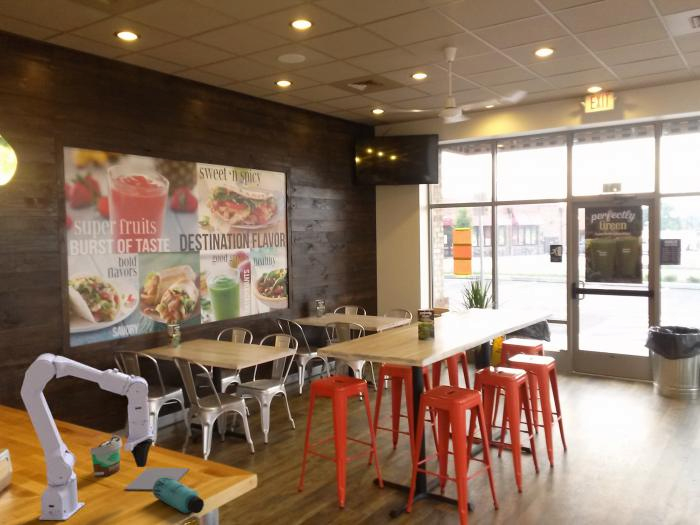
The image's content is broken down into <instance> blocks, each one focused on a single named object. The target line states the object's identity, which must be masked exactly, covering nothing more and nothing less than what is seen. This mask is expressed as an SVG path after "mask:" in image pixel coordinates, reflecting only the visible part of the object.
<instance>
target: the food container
mask: <svg viewBox="0 0 700 525" xmlns="http://www.w3.org/2000/svg"><path fill="white" fill-rule="evenodd" d="M111 436H112V437H111V438H109V440H107V441H106V440H105V441H104V442H102V443H100V444H99V445H98V446H96V447H93V446H92V447H90V451H89V452H90V453H89V455H91V460H92V467H93V475H94V476H93V477H94V478H104V477H109V476H113V475H115V474H117V473H118V472H119V471H120V468H121V467H120V466H121V464H120V463H121V448H122V447H123V442H122V441H123V440H122V439H121V437H120V436H119V435H115V434H114V435H113V434H112V435H111ZM116 472H117V473H116Z"/></svg>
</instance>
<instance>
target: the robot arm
mask: <svg viewBox="0 0 700 525" xmlns="http://www.w3.org/2000/svg"><path fill="white" fill-rule="evenodd" d="M24 375H25V376H24V379H23V382H22V386H21V389H20V396H21V399H22V402H23V404H24V406H25V409H26V411H27V413H28V417H29V419H30V421H31V423H32V426H33V428H34V430H35V433H36V436H37V438H38V440H39V443H40V445H41V448H42V450H43V453H44V461H45V462H44V463H45V465H46V474H45V475H46V478H47V484H46V488H45V489H44V491H43V492H42V494H41V495H40V507H41V508H40V509H41V515H40V516H39V517H38V519H39V520H41V521H43V520H45V521H48V520H49V521H66V520H68V519H69V518H71V517H72V516H73V515H74V514H75V513H76V512H78V511H79V510H80V509H81V508H82V507H83V506H85V502H78V501H79V500H78V485H77V483H78V482H77V474H76V473H75V472H74V467H75V465H76V456H75V455H74V453H72V452H71V451H70V450H69V449H68V446H67V445H66V444H65V443H64V441H63V440H62V437H61V435H60V432H59V430H58V428H57V425H56V422H55V420H54V417H53V415H52V412H51V410H50V408H49V405H48V403H47V401H46V400H47V399H46V398H45V396H44V393H43V390H44V389H45V387H46V386H47V383H48V382H49V381H51V380H52V379H53V377H54V376H55V375H56V379H59V378H61V377H66V376H71V377H72V376H73V377H75V378H76V377H77V378H80V379H83V380H88V381H91V382H94V383H98V385H99V387H100V389H102V390H105V391H109V392H111V393H115V394H116V395H117V394H118V395H120V396H126V397H127V400H128V404H127V414H128V415H127V416H128V420H127V421H128V434H129V435H128V436H127V441H126V442H125V443H124V451H125V452H127V451H129V452H130V453H131V454H132V456H133V458H134V461H135V464H136V467H138V468H144V467H145V466H146V465H147V461H148V455H149V452H150V448H151V446H152V444H153V439H154V437H155V434H154V433H155V427H154V426H151V424H150V422H151V421H150V407H149V406H150V405H149V404H150V403H149V396H148V395H149V388H148V387H149V384H148V382H147V380H146V379H145V378H144V377H141V376H139V375H137V376H136V375H134V374H126V373H123V372H120V371H119V369H117V368H113V369H111V368H110V369H109V368H108V369H106V370H103V371H102V370H99V369H97V368H94V367H91V366H89V365H86V364H83V363H82V362H78V361H76V360H72V359H70V358H68V357H65V356H61V355H55V354H53V353H50V352H49V353H47V352H45V353H43V354H40V355H39V356H37V358H36V359H35V360H34V361H33V362H32V363H31V364H30V366H29V367H28V368H27V370H26V371H25V374H24Z"/></svg>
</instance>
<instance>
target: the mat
mask: <svg viewBox="0 0 700 525" xmlns="http://www.w3.org/2000/svg"><path fill="white" fill-rule="evenodd" d="M189 471H190V468H189V467H187V468H185V467H184V468H180V467H178V468H177V467H147V468H146V469H145V470H143V471H142V473H141V472H140V474H139V475H138V476H137V477H136V478H135V479H134V480H132V482H130V483H129V484H128V485H127V486H126V487H125V488H124V491H140V490H153V486H154V483H155V482H156V481H157V480H158V479H159V478H161V477H164V476H165V477H170V478H171V479H173V480H175V481H177V482H180V480H181V479H182V478H183V477H184V476H185V475H186V474H187V473H188V472H189ZM186 472H187V473H186Z"/></svg>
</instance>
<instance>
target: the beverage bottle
mask: <svg viewBox="0 0 700 525" xmlns="http://www.w3.org/2000/svg"><path fill="white" fill-rule="evenodd" d="M152 493H153V496H154V498H156V499H157V500H159V501H161V502H162V503H164V504H167V505H168V506H170V507H172V508H174V509H176V510H178V511H180V512H181V513H184V514H188V513H193V514H199V513H201V511H203V508H204V506H205V501H204V500H203V499H202V498H201V497H199V496H200V495H199V493H198V492H197V490H195V489H193V488H190V486H189V487H188V486H187V485H186V484H183V483H182V482H180V481H178V482H177V481H175V480H173V479H171V478H170V477H165V476H164V477H161V478H159V479H158V480H157V481H156V482H155V483H154V486H153V491H152Z"/></svg>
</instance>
